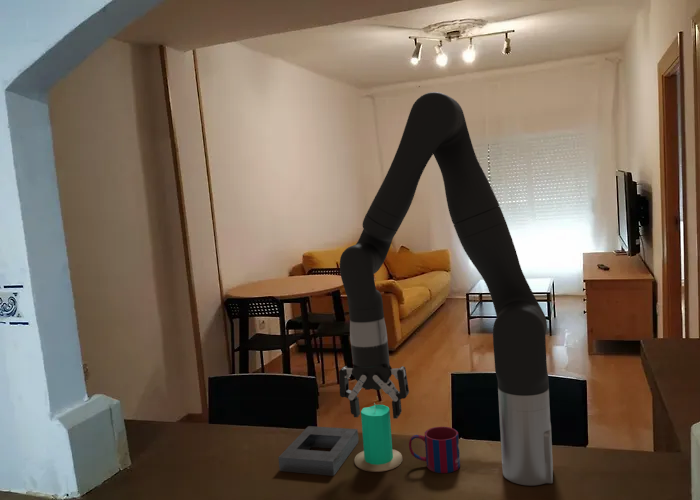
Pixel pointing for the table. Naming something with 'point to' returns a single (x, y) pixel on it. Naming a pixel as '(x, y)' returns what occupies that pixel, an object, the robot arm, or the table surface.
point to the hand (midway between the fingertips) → (376, 416)
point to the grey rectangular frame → (319, 461)
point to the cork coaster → (390, 465)
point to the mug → (440, 449)
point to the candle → (377, 434)
